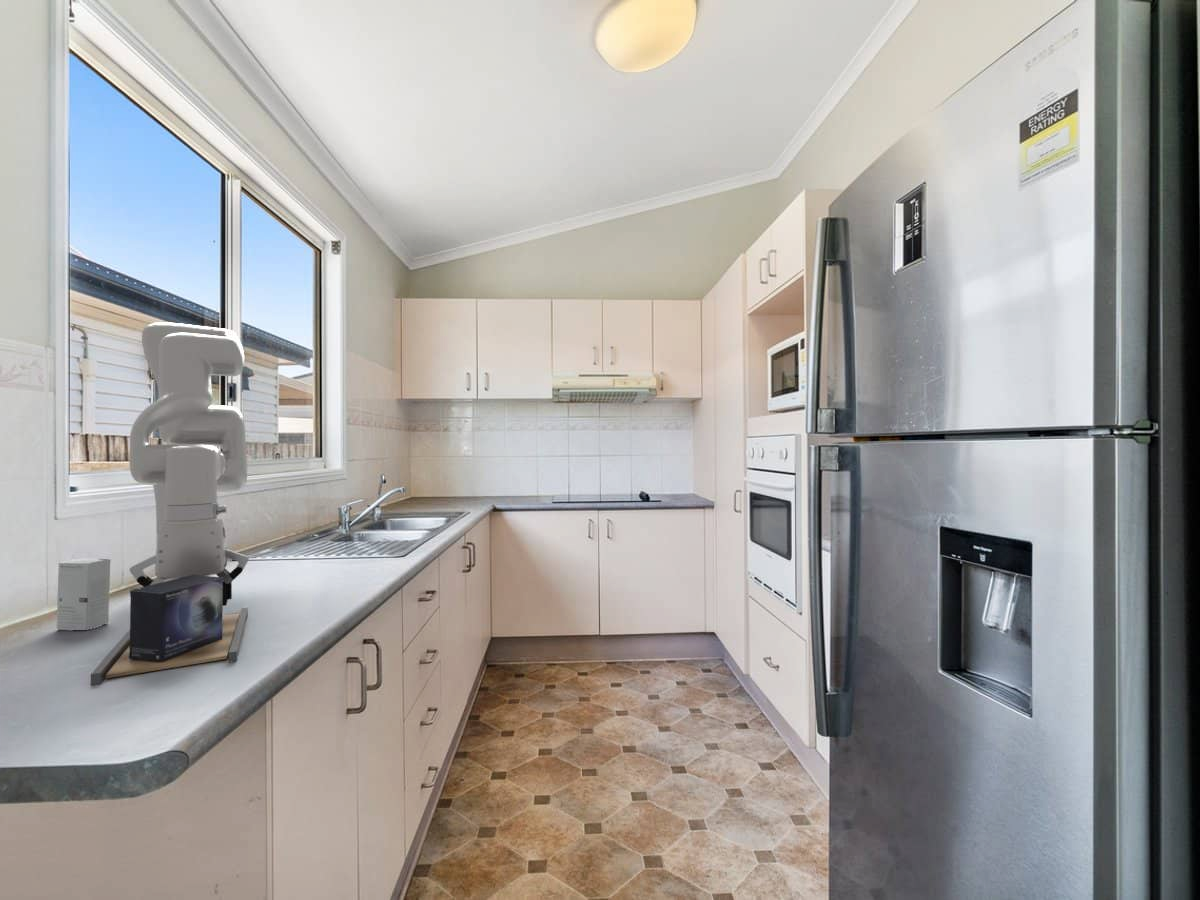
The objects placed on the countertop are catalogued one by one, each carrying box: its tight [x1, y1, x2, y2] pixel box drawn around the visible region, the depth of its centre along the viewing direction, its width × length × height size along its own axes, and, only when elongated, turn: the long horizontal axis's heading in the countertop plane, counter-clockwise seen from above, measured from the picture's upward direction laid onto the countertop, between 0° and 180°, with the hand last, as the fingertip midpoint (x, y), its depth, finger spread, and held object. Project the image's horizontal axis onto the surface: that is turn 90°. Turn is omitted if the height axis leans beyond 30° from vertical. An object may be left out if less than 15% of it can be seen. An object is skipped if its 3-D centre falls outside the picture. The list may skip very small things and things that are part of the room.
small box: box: [129, 575, 224, 662], centre depth 85 cm, size 11×6×10 cm, turn 169°
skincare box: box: [56, 557, 111, 631], centre depth 98 cm, size 6×4×12 cm
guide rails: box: [90, 607, 249, 686], centre depth 90 cm, size 26×17×2 cm, turn 30°
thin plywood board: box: [105, 613, 240, 679], centre depth 90 cm, size 24×14×6 cm, turn 30°
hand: (192, 607), depth 99 cm, fingers open, 9 cm apart
